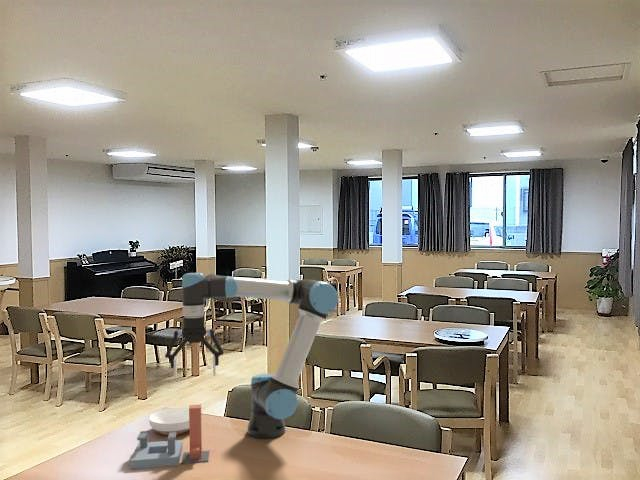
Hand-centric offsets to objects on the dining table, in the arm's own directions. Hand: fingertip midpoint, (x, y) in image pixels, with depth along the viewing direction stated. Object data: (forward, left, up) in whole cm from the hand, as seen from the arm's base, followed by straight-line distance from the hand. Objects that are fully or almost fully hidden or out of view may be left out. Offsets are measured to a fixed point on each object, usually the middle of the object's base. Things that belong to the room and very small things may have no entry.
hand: (195, 375), depth 203 cm
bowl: (+11, -30, -30) cm, 44 cm away
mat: (0, 0, -29) cm, 29 cm away
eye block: (+14, -2, -29) cm, 32 cm away
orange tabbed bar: (0, 0, -29) cm, 29 cm away
